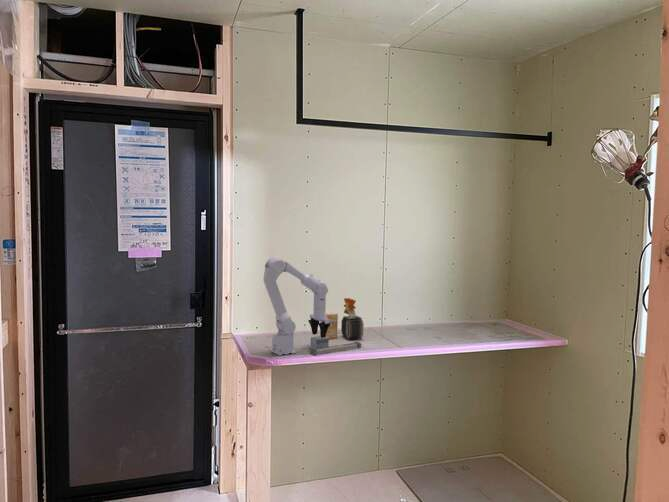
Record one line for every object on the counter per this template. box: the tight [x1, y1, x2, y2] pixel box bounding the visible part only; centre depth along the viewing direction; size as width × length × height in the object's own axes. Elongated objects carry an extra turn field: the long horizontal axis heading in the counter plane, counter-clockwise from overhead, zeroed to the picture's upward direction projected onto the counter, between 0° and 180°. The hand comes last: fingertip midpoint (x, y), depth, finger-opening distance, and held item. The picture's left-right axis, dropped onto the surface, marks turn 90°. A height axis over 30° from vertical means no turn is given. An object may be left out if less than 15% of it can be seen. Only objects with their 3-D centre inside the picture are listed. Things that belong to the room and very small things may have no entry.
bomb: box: [340, 297, 365, 341], centre depth 251 cm, size 8×13×20 cm, turn 22°
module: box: [310, 335, 330, 349], centre depth 228 cm, size 7×5×6 cm
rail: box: [309, 341, 362, 356], centre depth 224 cm, size 26×4×2 cm, turn 124°
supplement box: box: [319, 312, 339, 340], centre depth 250 cm, size 8×5×13 cm, turn 126°
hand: (318, 335), depth 228 cm, fingers open, 7 cm apart
